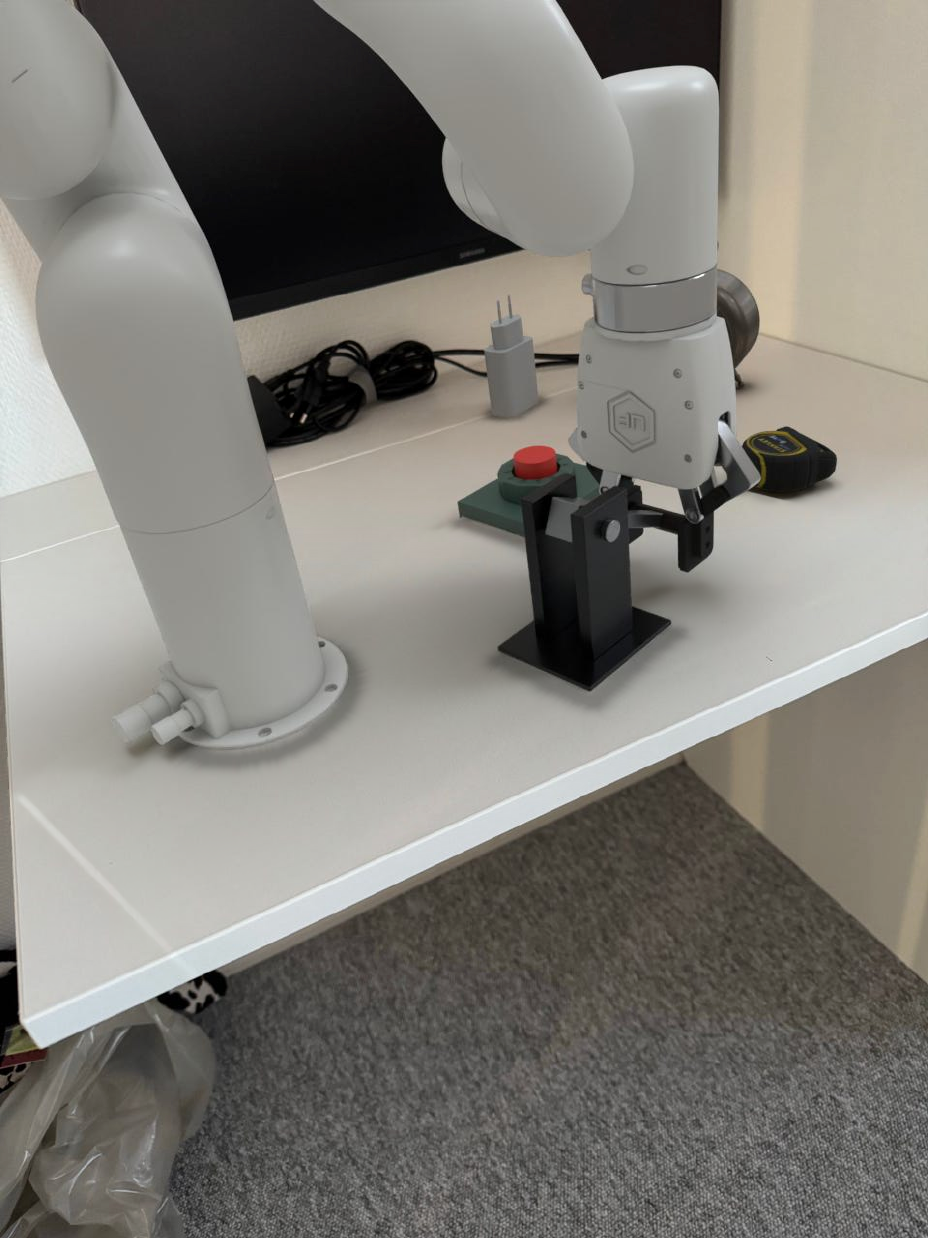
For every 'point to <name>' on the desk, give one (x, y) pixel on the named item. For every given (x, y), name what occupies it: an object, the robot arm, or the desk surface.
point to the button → (535, 462)
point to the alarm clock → (737, 316)
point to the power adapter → (510, 367)
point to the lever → (637, 517)
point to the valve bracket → (580, 589)
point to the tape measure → (788, 459)
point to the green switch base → (519, 494)
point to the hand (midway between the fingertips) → (660, 550)
